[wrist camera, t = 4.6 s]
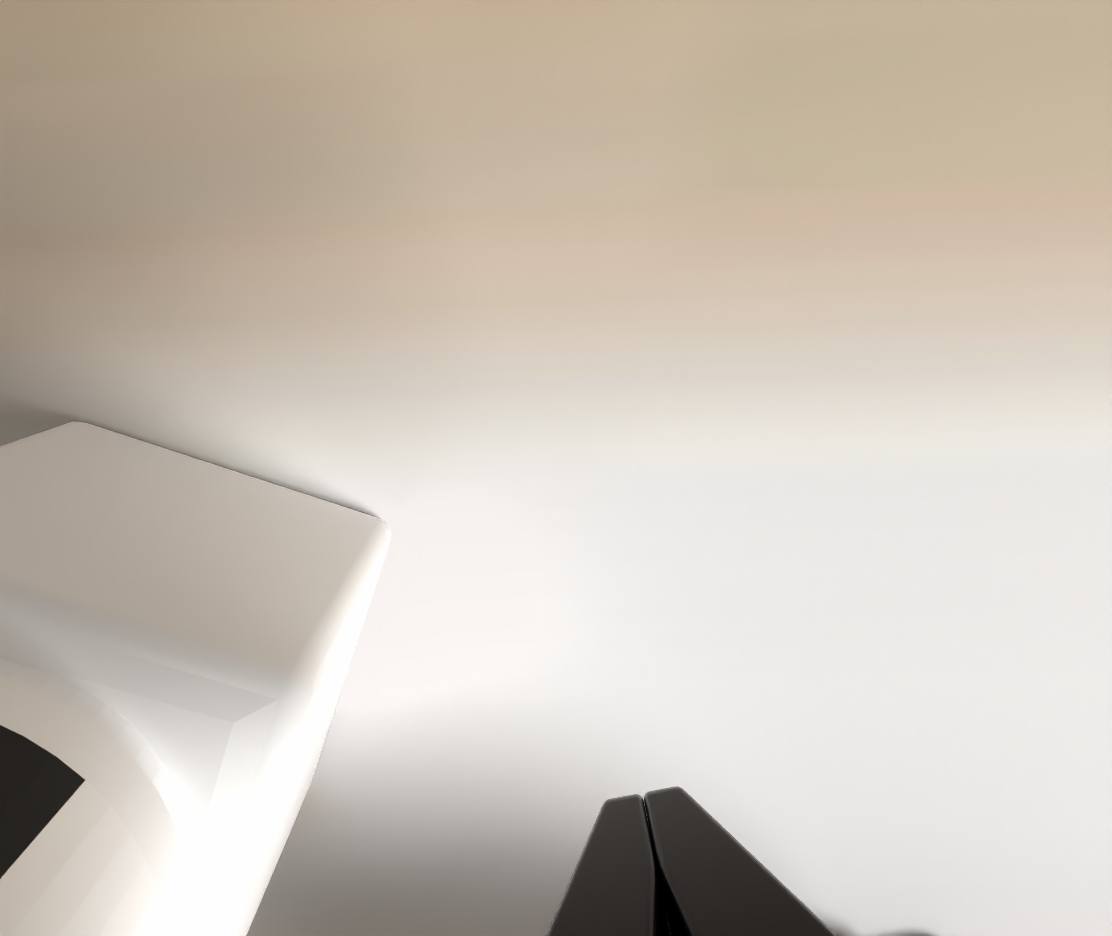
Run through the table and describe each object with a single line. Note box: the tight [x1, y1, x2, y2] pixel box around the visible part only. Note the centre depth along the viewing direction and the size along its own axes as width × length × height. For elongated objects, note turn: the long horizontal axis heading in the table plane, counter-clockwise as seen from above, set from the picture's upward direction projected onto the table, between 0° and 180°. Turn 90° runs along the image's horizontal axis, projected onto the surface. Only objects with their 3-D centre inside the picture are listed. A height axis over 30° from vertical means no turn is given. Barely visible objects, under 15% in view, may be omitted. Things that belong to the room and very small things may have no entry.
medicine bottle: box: [0, 421, 391, 936], centre depth 12 cm, size 7×7×12 cm
